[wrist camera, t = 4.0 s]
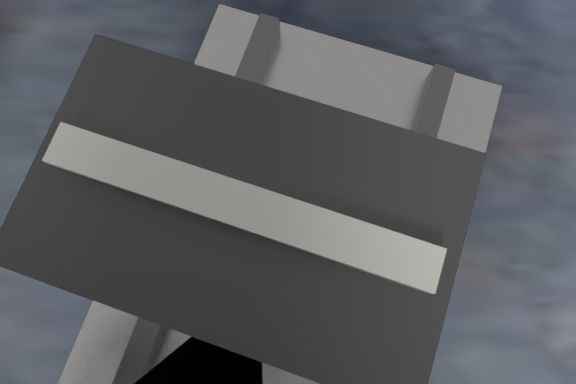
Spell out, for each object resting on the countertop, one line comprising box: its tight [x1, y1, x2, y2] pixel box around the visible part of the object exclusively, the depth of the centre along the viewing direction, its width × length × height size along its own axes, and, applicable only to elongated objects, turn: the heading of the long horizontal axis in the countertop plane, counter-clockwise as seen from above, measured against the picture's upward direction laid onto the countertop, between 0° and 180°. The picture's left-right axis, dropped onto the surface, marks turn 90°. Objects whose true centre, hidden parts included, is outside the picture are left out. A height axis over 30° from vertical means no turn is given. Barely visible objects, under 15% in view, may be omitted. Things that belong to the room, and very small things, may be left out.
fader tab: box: [0, 34, 486, 384], centre depth 10 cm, size 3×5×11 cm, turn 72°
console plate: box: [58, 4, 502, 384], centre depth 16 cm, size 20×12×2 cm, turn 162°
